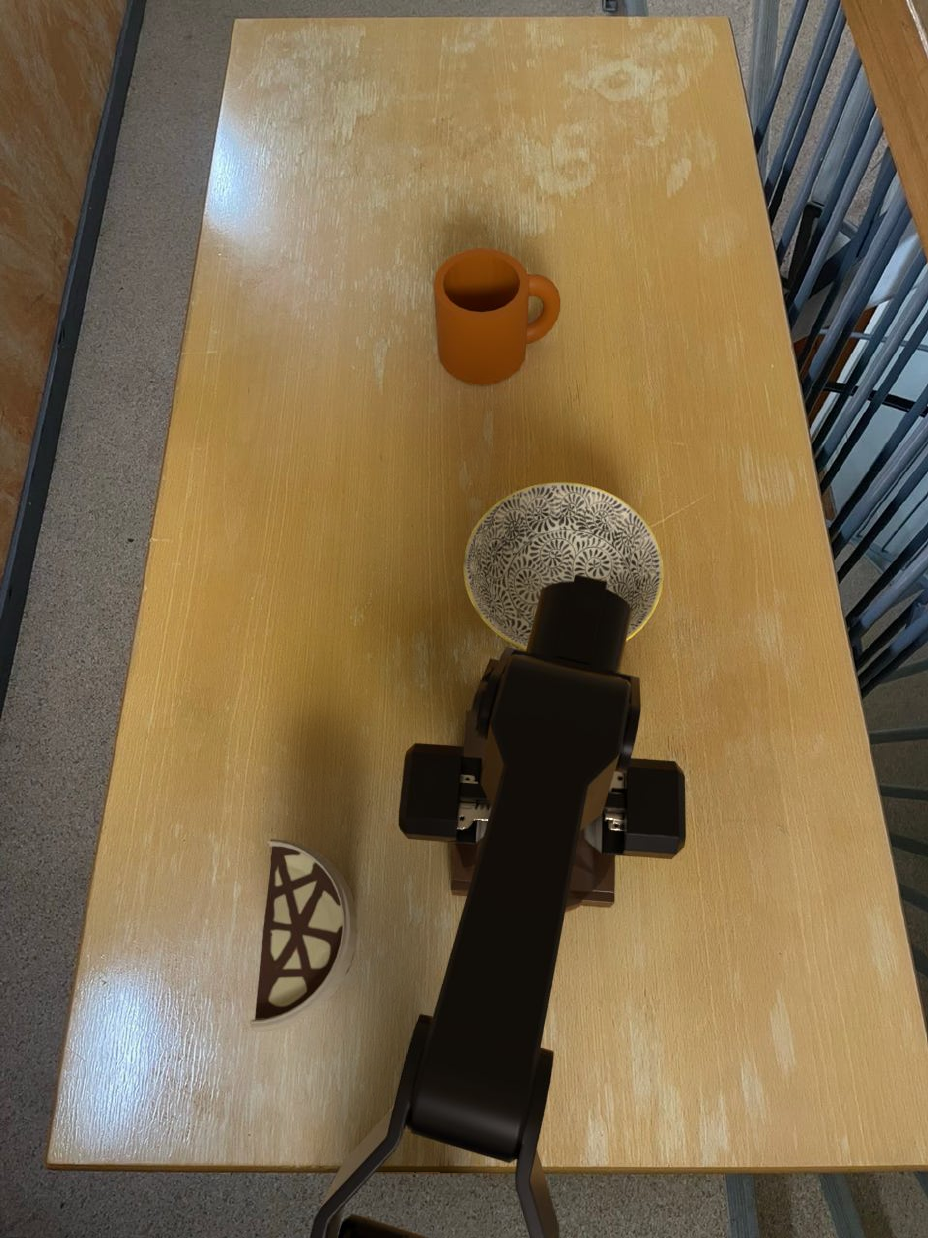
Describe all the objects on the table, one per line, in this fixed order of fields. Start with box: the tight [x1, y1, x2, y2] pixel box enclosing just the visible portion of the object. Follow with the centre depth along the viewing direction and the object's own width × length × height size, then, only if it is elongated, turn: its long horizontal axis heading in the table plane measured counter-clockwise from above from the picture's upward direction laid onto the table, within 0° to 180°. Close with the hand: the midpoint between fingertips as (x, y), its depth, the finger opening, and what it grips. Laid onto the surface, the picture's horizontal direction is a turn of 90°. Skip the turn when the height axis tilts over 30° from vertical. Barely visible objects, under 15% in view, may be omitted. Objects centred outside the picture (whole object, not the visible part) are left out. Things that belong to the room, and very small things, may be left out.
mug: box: [432, 247, 561, 386], centre depth 88 cm, size 9×12×9 cm
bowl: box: [462, 481, 665, 651], centre depth 77 cm, size 16×16×8 cm
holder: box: [450, 710, 617, 913], centre depth 71 cm, size 15×12×2 cm
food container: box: [248, 838, 358, 1034], centre depth 64 cm, size 12×6×10 cm, turn 179°
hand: (535, 825), depth 69 cm, fingers open, 7 cm apart
